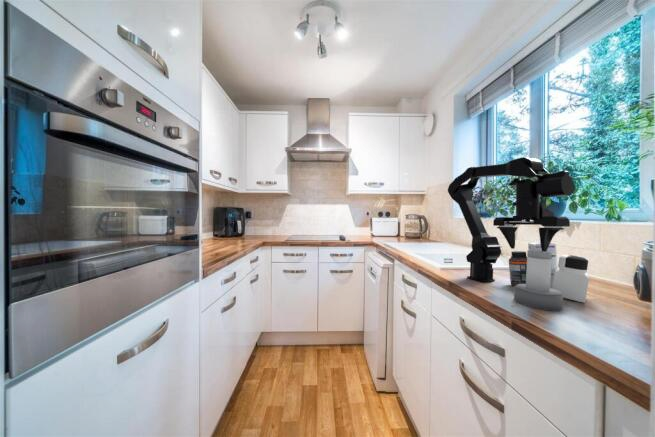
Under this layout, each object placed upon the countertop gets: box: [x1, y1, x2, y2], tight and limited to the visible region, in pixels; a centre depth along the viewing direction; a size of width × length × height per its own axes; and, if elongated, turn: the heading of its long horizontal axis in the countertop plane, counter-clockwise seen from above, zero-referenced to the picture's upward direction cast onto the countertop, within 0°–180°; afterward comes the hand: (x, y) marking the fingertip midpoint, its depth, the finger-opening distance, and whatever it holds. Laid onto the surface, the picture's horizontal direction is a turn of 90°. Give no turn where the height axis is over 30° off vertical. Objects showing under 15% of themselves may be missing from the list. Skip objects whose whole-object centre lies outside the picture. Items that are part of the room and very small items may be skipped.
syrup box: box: [527, 242, 559, 288], centre depth 81 cm, size 6×6×14 cm
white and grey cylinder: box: [526, 249, 552, 292], centre depth 68 cm, size 5×5×10 cm
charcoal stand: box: [513, 284, 564, 312], centre depth 68 cm, size 10×10×4 cm
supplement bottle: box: [508, 250, 527, 287], centre depth 85 cm, size 6×6×11 cm
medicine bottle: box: [552, 254, 590, 304], centre depth 74 cm, size 7×7×12 cm
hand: (527, 250), depth 78 cm, fingers open, 9 cm apart
